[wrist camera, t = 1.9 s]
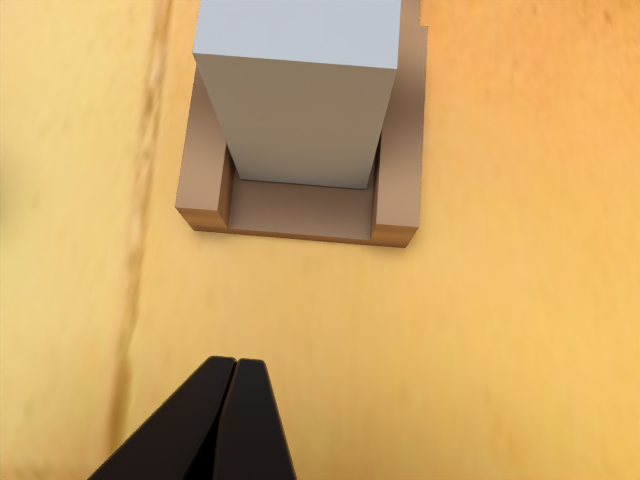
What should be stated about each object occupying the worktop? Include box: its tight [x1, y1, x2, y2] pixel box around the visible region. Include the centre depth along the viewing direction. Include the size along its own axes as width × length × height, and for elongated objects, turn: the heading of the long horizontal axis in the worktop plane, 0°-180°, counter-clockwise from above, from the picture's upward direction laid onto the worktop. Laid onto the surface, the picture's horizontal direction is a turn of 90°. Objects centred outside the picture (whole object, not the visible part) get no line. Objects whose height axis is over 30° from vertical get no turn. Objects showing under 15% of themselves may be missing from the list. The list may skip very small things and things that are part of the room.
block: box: [192, 0, 401, 189], centre depth 19 cm, size 5×5×9 cm
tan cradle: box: [175, 0, 428, 248], centre depth 23 cm, size 15×9×3 cm, turn 175°
